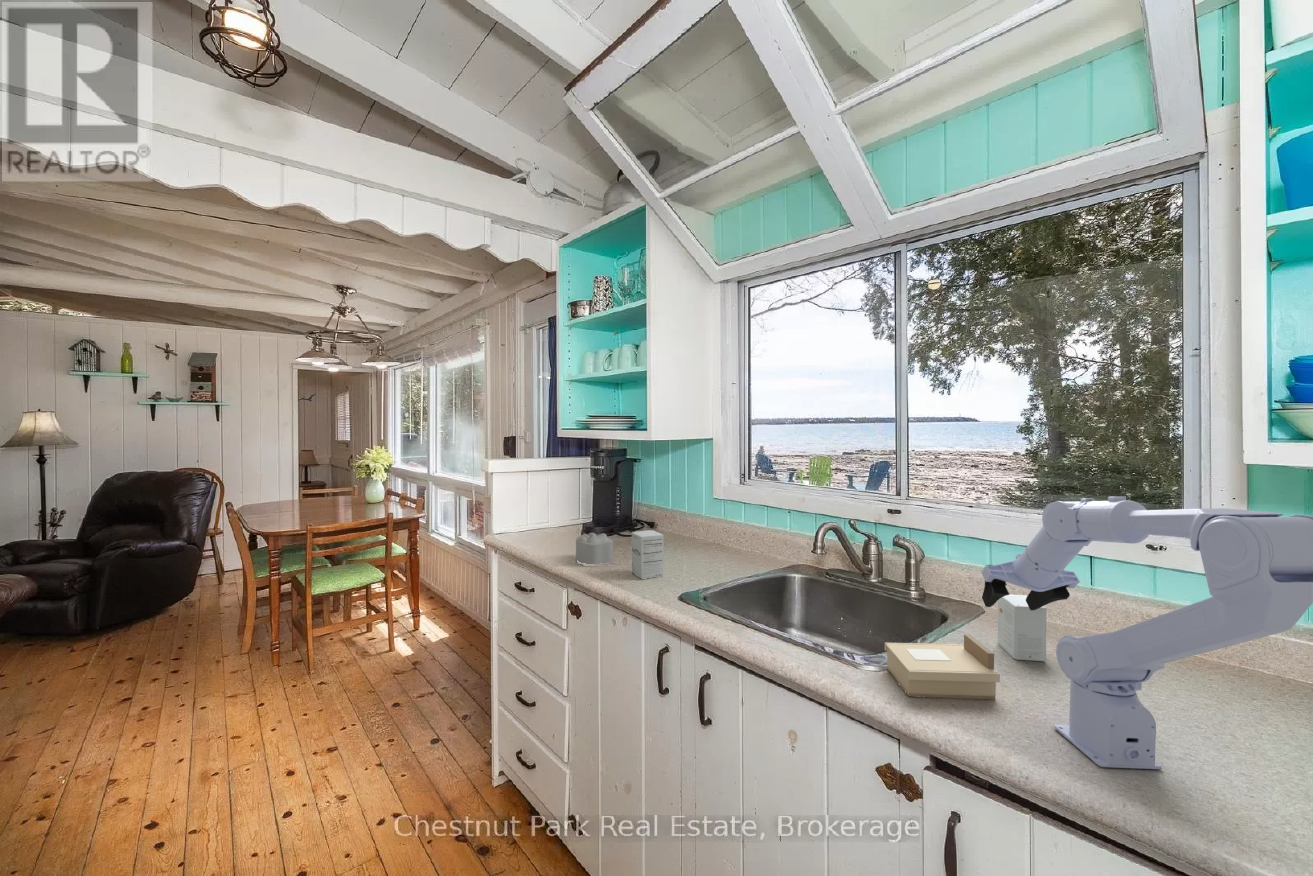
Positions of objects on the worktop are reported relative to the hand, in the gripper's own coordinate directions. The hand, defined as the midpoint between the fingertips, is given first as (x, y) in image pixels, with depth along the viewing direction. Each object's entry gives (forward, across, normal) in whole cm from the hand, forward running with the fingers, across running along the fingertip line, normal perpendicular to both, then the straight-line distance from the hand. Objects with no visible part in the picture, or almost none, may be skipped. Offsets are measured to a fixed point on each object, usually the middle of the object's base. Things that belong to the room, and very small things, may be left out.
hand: (1007, 603), depth 97 cm
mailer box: (+10, +12, +11) cm, 19 cm away
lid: (+7, +12, +9) cm, 17 cm away
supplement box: (+52, +67, -36) cm, 92 cm away
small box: (+17, -10, 0) cm, 20 cm away
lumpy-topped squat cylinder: (+63, +85, -47) cm, 116 cm away
